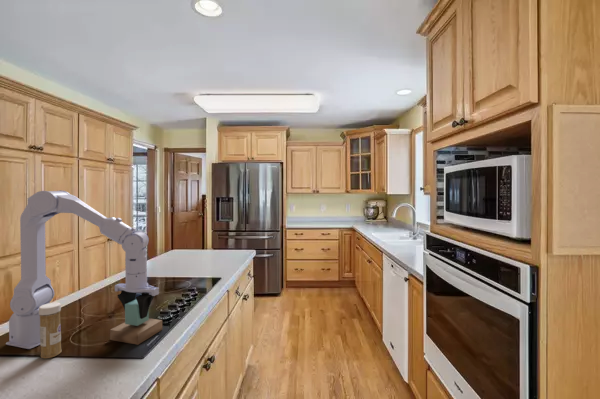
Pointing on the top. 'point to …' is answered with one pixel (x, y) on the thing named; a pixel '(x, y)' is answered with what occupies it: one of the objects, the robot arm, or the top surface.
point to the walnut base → (135, 331)
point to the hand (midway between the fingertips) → (136, 316)
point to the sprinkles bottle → (50, 330)
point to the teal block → (134, 314)
